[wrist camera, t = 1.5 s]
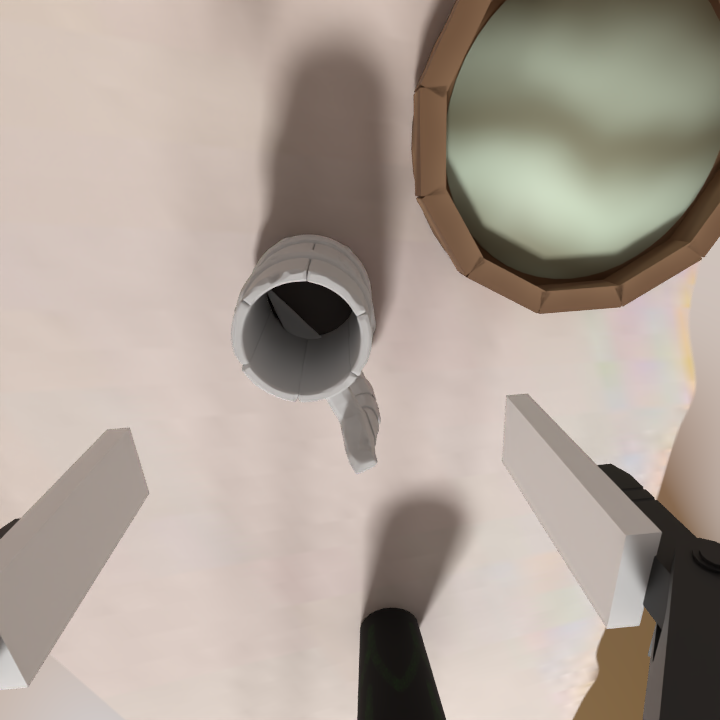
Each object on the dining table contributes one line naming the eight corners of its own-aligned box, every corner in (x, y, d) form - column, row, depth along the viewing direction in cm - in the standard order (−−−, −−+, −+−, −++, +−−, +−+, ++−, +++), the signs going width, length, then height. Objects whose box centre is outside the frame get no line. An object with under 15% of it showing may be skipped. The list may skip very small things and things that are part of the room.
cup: (347, 602, 39) (353, 767, 28) (430, 596, 39) (468, 757, 28) (350, 658, 42) (356, 828, 31) (427, 653, 42) (461, 818, 31)
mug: (335, 209, 26) (337, 222, 15) (413, 364, 31) (458, 464, 20) (230, 266, 27) (160, 318, 16) (319, 409, 32) (312, 529, 20)
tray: (407, -70, 22) (417, -105, 19) (787, -91, 22) (847, -127, 20) (414, 311, 29) (422, 323, 27) (699, 288, 30) (734, 297, 27)
